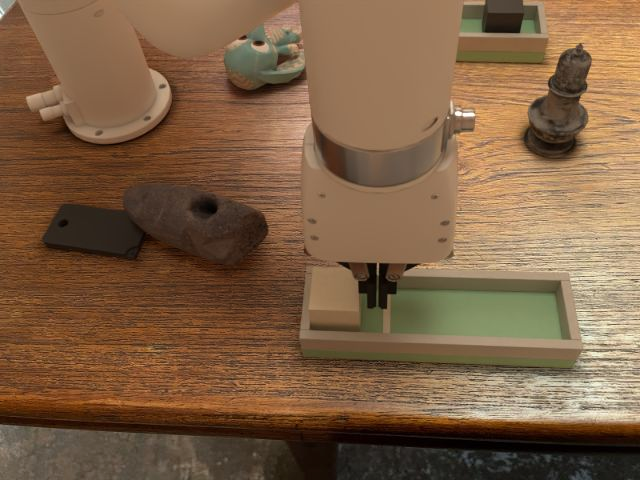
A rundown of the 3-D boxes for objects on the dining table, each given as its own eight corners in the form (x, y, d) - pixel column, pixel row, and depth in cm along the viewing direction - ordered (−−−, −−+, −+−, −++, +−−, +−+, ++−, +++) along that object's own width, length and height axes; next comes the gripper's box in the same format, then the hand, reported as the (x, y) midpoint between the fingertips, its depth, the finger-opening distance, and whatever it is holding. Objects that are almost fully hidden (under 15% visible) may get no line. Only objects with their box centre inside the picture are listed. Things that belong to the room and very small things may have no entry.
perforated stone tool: (118, 236, 61) (93, 191, 55) (148, 198, 63) (127, 151, 57) (251, 287, 56) (239, 244, 51) (277, 244, 59) (268, 199, 53)
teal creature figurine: (331, 10, 71) (269, 52, 64) (330, 66, 76) (272, 110, 69) (258, -13, 75) (192, 24, 68) (261, 42, 80) (200, 81, 73)
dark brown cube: (482, 42, 72) (487, 12, 69) (481, 22, 74) (486, -8, 71) (517, 43, 72) (524, 13, 68) (515, 22, 74) (522, -8, 71)
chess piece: (580, 162, 62) (618, 66, 52) (520, 157, 63) (546, 62, 54) (577, 122, 66) (613, 25, 56) (521, 118, 67) (546, 21, 57)
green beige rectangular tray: (355, 59, 74) (354, 34, 72) (360, 24, 78) (359, -1, 76) (542, 63, 72) (549, 37, 69) (537, 26, 76) (543, 1, 73)
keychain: (132, 255, 58) (39, 241, 60) (135, 259, 59) (42, 245, 61) (152, 214, 61) (62, 202, 63) (154, 219, 62) (65, 207, 64)
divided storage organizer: (302, 357, 52) (298, 338, 49) (310, 286, 56) (306, 265, 53) (571, 368, 50) (583, 349, 47) (558, 293, 54) (569, 272, 51)
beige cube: (312, 332, 51) (308, 309, 48) (316, 292, 54) (312, 267, 50) (360, 334, 51) (359, 311, 48) (361, 293, 53) (361, 268, 50)
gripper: (508, 81, 36) (468, 256, 51) (257, 83, 37) (290, 253, 52) (523, 177, 32) (475, 338, 46) (239, 175, 33) (280, 332, 48)
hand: (377, 293), depth 49 cm, fingers closed
